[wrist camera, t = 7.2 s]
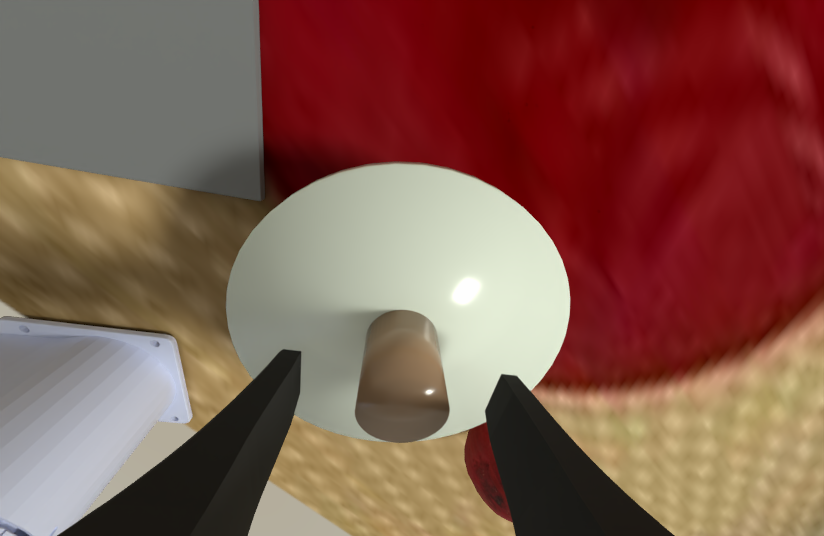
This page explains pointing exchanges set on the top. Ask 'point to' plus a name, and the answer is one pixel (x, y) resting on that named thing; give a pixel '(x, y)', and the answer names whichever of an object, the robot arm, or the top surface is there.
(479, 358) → the lid
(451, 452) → the top surface
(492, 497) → the onion
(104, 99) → the mat
